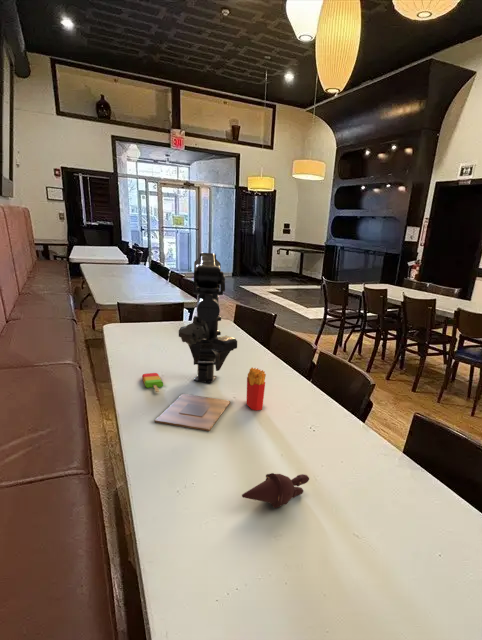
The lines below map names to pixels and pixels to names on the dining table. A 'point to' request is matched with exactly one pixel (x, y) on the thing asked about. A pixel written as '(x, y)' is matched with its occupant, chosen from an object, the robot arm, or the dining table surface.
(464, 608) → the dining table surface
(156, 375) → the popsicle
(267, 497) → the icecream
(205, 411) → the placemat
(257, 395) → the french fries
